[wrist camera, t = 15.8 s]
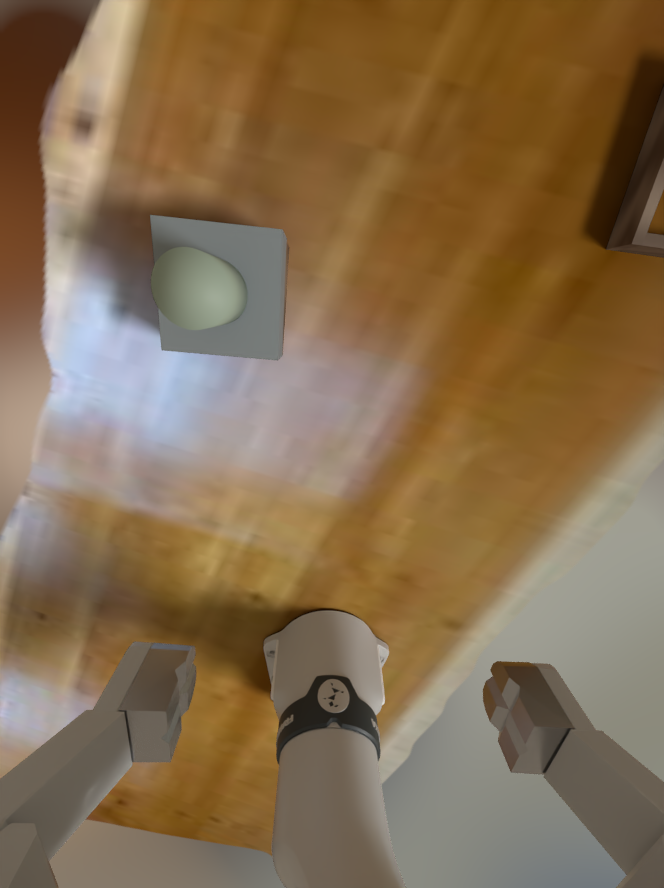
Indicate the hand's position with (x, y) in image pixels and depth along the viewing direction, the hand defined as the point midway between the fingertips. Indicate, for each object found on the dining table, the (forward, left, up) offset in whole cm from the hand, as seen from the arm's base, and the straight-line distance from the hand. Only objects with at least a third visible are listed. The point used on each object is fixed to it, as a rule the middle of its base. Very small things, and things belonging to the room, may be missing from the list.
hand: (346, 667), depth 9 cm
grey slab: (+9, +10, -28) cm, 31 cm away
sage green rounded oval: (+9, +10, -25) cm, 28 cm away
